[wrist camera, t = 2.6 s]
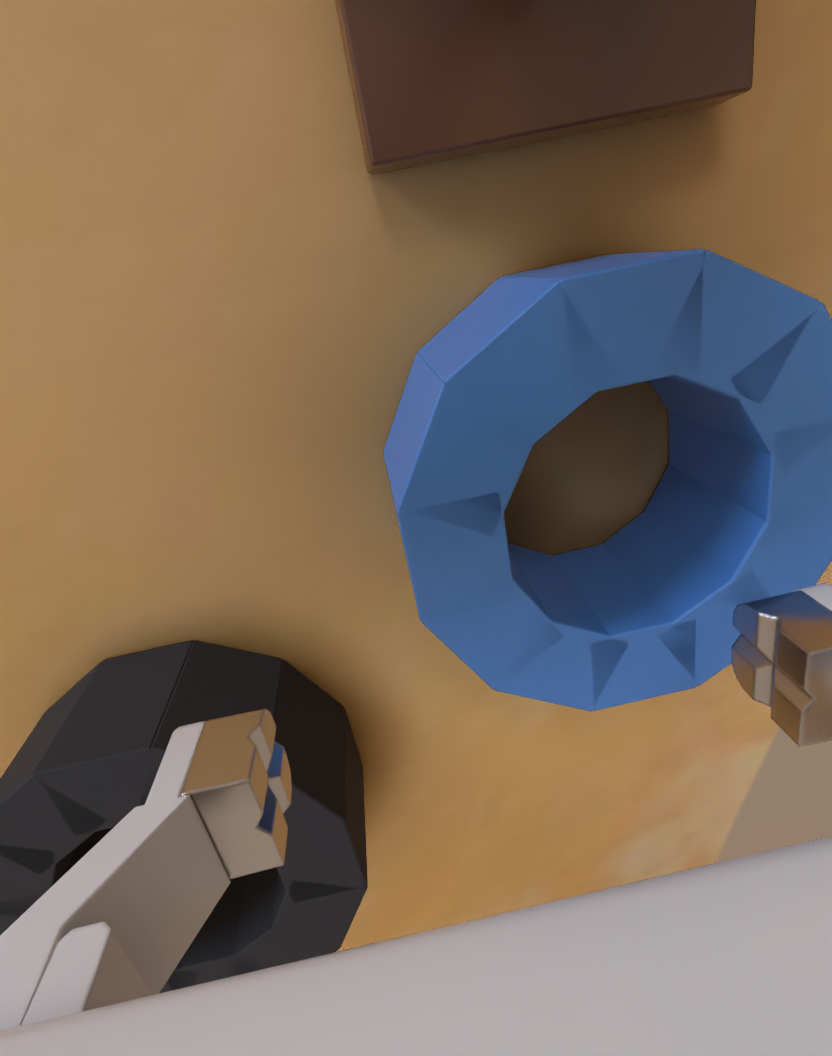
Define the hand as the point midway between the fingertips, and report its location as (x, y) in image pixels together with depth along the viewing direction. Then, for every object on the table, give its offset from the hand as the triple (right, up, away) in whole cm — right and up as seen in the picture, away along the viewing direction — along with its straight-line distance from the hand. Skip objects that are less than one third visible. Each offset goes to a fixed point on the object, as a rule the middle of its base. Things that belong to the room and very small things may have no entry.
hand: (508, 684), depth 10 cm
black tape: (-9, -6, +11) cm, 16 cm away
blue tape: (+3, +5, +8) cm, 10 cm away
